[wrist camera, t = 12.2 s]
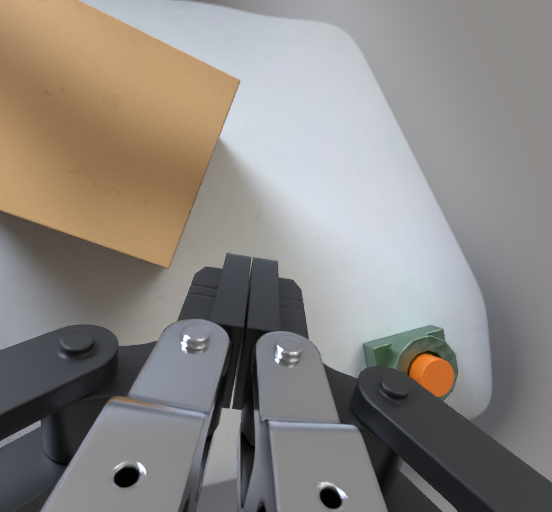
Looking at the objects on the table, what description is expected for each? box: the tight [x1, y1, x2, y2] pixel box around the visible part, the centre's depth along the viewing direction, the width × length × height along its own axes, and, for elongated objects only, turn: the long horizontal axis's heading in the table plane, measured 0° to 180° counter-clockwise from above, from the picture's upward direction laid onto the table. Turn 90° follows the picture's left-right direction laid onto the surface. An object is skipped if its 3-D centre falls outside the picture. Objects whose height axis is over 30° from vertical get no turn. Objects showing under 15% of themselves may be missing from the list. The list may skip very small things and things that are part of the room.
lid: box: [0, 0, 240, 269], centre depth 20 cm, size 11×14×1 cm
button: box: [408, 353, 454, 397], centre depth 31 cm, size 3×3×2 cm
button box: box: [363, 325, 458, 401], centre depth 33 cm, size 7×6×4 cm
